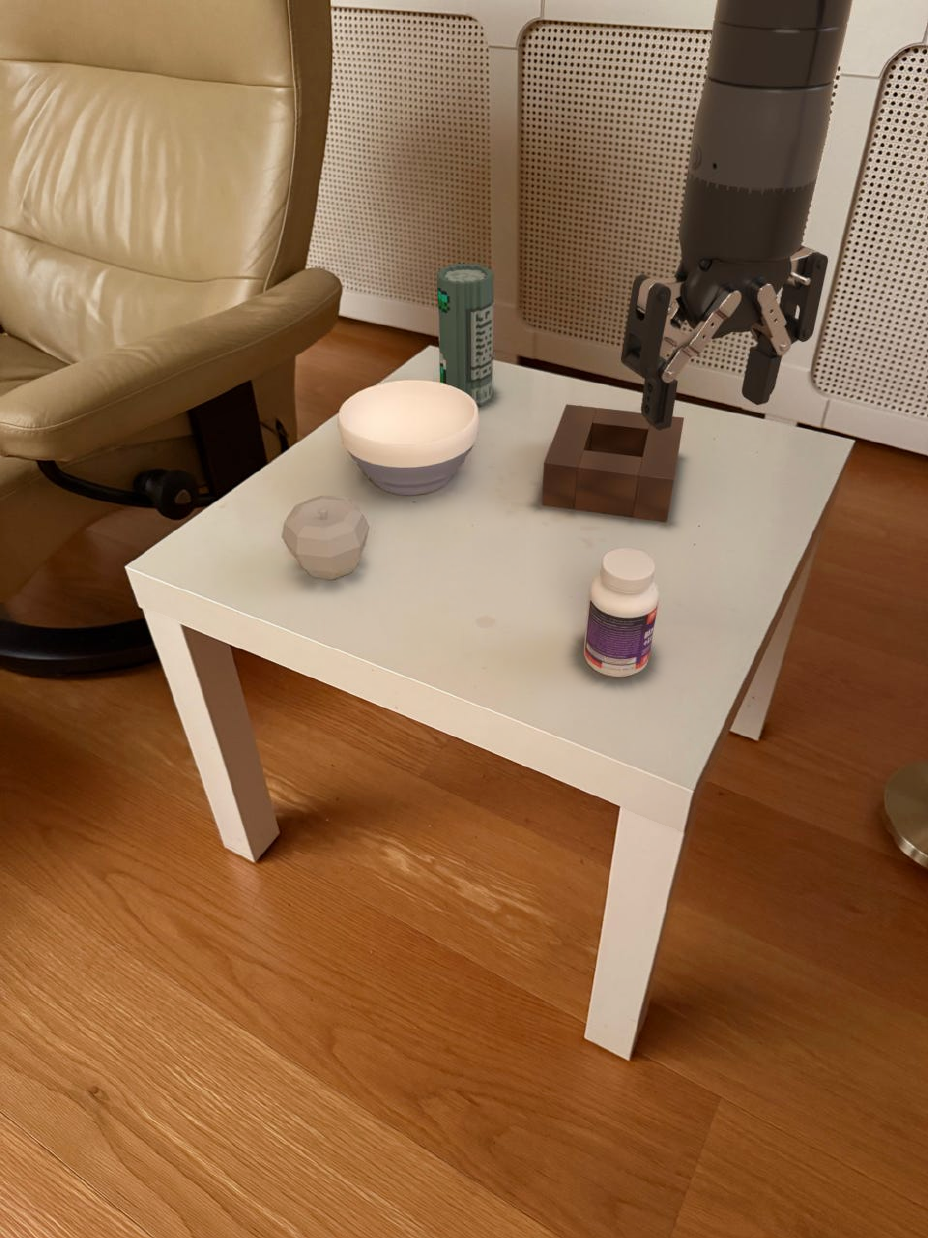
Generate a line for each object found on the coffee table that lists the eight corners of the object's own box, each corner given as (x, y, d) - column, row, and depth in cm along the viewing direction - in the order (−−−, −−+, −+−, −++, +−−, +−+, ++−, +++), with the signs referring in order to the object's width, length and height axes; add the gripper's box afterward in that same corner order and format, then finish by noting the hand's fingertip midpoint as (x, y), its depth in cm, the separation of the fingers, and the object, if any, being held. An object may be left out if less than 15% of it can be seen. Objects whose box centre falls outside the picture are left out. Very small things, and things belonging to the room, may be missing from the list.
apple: (390, 560, 83) (385, 502, 79) (336, 605, 78) (327, 545, 74) (326, 533, 87) (318, 476, 82) (270, 575, 82) (258, 516, 77)
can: (462, 380, 112) (460, 260, 102) (500, 394, 109) (503, 271, 99) (431, 398, 108) (426, 275, 98) (470, 413, 105) (469, 287, 95)
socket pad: (677, 458, 97) (684, 417, 93) (666, 522, 87) (674, 479, 84) (563, 444, 99) (566, 403, 96) (541, 505, 90) (543, 462, 87)
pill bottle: (652, 679, 71) (669, 585, 64) (585, 679, 71) (596, 585, 65) (643, 634, 75) (658, 541, 68) (580, 634, 75) (589, 541, 69)
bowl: (470, 437, 101) (470, 374, 96) (488, 507, 90) (488, 441, 85) (343, 445, 100) (336, 383, 95) (345, 518, 89) (337, 451, 84)
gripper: (692, 197, 48) (653, 459, 58) (890, 164, 52) (820, 413, 63) (617, 165, 53) (593, 411, 63) (802, 137, 57) (752, 371, 68)
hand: (706, 412), depth 63 cm, fingers open, 8 cm apart
